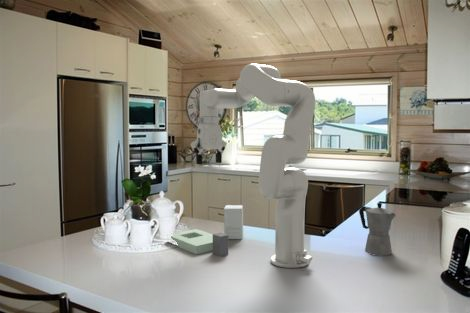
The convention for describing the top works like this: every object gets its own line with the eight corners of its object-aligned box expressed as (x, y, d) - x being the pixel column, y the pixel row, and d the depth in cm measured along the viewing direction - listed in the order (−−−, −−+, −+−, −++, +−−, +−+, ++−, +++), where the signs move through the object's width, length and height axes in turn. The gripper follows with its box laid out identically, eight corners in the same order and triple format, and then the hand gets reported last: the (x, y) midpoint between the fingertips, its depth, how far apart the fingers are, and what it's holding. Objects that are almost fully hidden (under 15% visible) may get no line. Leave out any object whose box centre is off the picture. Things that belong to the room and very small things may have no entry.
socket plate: (226, 246, 155) (226, 239, 155) (196, 254, 146) (196, 246, 146) (196, 236, 170) (196, 228, 170) (166, 242, 161) (166, 234, 161)
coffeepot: (402, 254, 146) (404, 204, 145) (385, 259, 141) (387, 207, 140) (366, 244, 159) (368, 197, 158) (350, 248, 154) (351, 200, 152)
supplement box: (243, 234, 172) (243, 204, 172) (242, 239, 165) (242, 208, 164) (226, 234, 173) (225, 204, 172) (223, 239, 166) (223, 208, 165)
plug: (228, 254, 146) (228, 235, 146) (220, 256, 144) (220, 236, 144) (220, 251, 150) (220, 232, 149) (212, 253, 147) (212, 234, 147)
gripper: (196, 121, 159) (196, 165, 160) (231, 121, 170) (231, 163, 171) (185, 121, 164) (186, 164, 166) (220, 121, 175) (220, 161, 177)
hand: (209, 163), depth 168 cm, fingers open, 9 cm apart
